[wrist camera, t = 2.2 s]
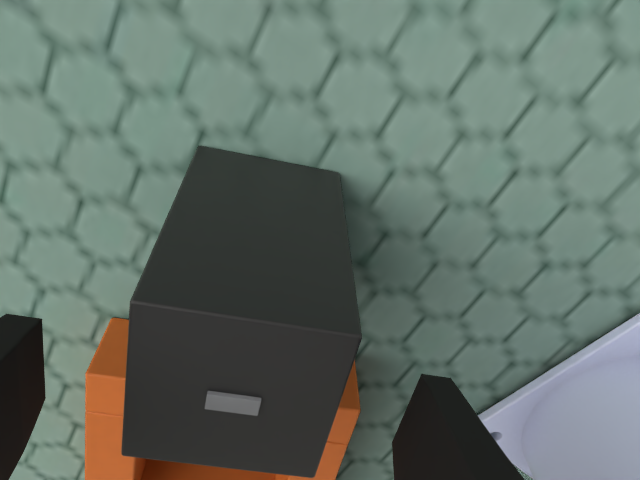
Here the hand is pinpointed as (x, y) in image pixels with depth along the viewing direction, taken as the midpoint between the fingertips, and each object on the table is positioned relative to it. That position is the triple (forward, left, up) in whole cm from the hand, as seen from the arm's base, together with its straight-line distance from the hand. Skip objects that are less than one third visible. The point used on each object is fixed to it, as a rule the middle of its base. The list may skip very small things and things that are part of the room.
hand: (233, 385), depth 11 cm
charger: (0, 0, -7) cm, 7 cm away
